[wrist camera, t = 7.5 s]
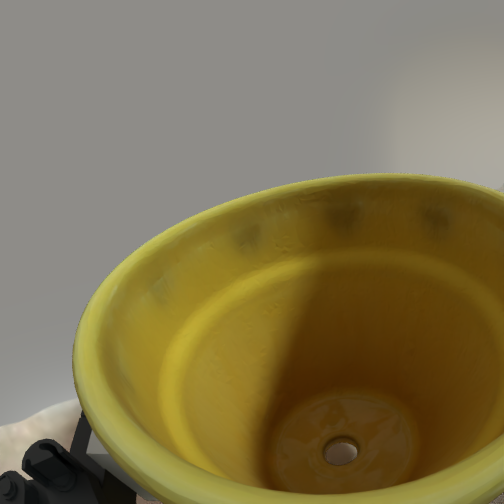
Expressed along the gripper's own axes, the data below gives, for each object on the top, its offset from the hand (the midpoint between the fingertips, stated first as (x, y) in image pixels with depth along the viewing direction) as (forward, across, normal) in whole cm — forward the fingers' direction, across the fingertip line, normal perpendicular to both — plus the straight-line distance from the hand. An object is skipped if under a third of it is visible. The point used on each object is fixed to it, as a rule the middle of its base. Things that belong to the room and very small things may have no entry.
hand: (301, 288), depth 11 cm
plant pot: (-4, 0, -6) cm, 7 cm away
